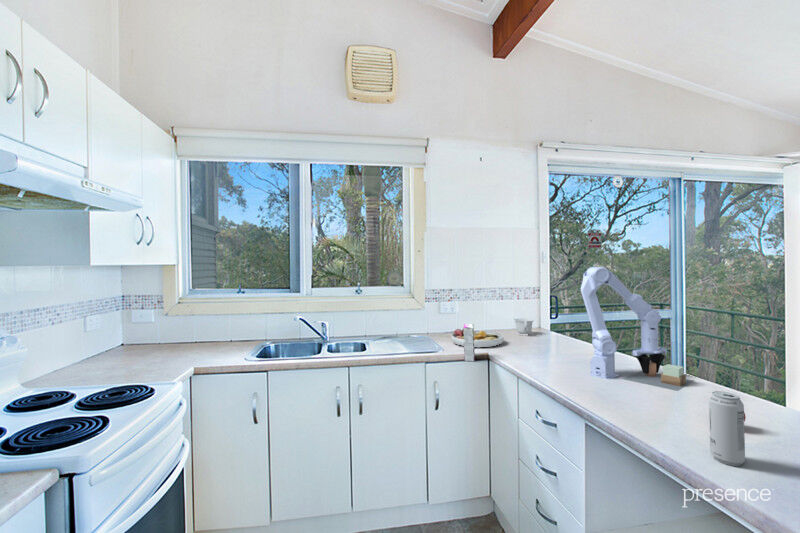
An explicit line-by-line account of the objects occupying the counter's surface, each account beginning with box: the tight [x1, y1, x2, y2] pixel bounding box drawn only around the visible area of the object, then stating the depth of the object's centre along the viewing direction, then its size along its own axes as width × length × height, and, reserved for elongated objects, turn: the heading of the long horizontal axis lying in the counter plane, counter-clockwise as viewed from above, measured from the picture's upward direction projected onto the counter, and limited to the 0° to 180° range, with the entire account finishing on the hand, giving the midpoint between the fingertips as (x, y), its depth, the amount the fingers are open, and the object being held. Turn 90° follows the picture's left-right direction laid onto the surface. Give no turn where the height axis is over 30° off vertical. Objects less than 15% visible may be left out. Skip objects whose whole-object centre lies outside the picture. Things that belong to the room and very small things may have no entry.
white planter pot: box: [513, 317, 534, 335], centre depth 239 cm, size 12×15×10 cm
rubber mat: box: [622, 370, 695, 392], centre depth 142 cm, size 18×18×1 cm
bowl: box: [450, 328, 504, 348], centre depth 219 cm, size 30×30×8 cm
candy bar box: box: [462, 323, 476, 362], centre depth 183 cm, size 11×5×16 cm, turn 168°
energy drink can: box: [708, 390, 746, 467], centre depth 85 cm, size 6×6×15 cm
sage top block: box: [662, 363, 685, 378], centre depth 138 cm, size 5×5×3 cm
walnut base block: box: [660, 373, 687, 386], centre depth 138 cm, size 6×6×3 cm
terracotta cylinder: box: [644, 361, 657, 377], centre depth 148 cm, size 4×4×5 cm
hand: (650, 372), depth 148 cm, fingers open, 4 cm apart
